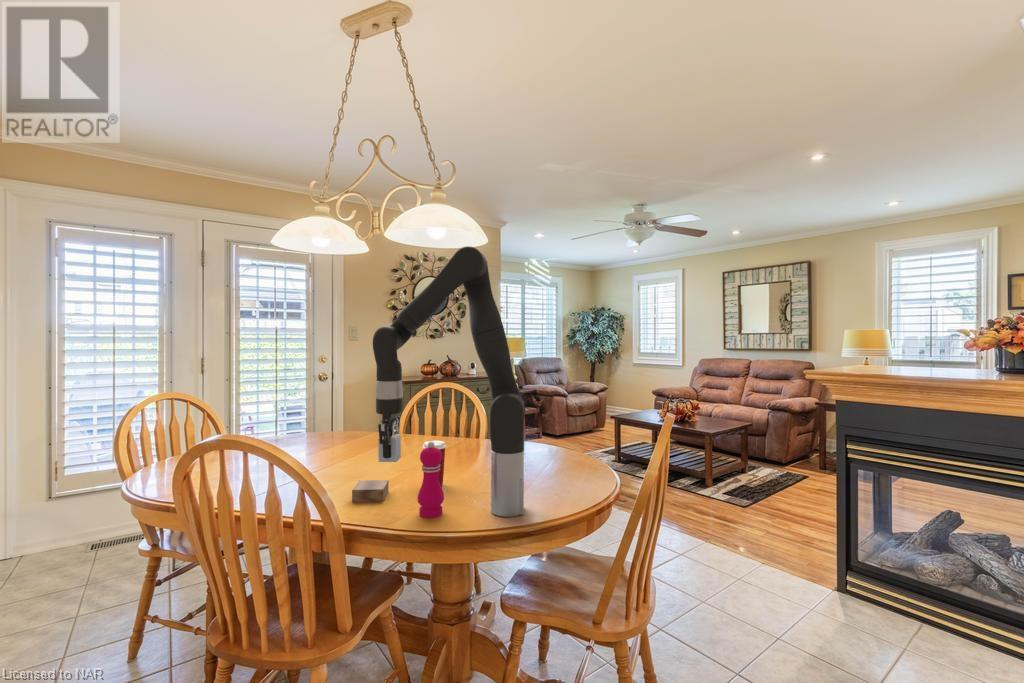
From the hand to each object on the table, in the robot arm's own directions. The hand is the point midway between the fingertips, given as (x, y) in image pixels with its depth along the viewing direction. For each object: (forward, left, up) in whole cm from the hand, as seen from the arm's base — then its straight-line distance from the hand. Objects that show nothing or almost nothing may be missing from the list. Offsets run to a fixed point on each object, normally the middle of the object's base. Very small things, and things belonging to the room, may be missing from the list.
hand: (389, 455), depth 139 cm
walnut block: (+8, -8, -15) cm, 19 cm away
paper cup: (-9, -20, -15) cm, 27 cm away
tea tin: (0, 0, -1) cm, 1 cm away
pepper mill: (-13, +5, -15) cm, 20 cm away
